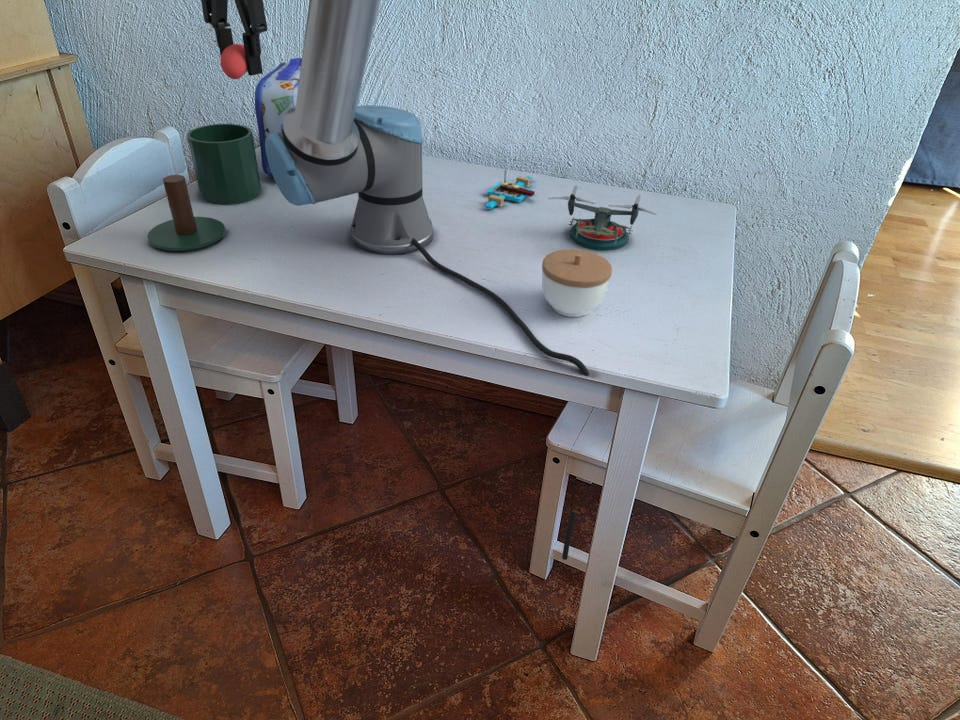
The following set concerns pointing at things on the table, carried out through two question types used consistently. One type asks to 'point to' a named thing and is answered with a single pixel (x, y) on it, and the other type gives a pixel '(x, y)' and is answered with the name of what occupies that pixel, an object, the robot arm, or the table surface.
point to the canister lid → (183, 222)
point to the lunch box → (275, 101)
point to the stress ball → (234, 61)
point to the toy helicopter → (600, 224)
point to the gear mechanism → (509, 191)
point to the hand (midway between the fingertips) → (242, 70)
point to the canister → (225, 163)
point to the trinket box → (575, 281)
